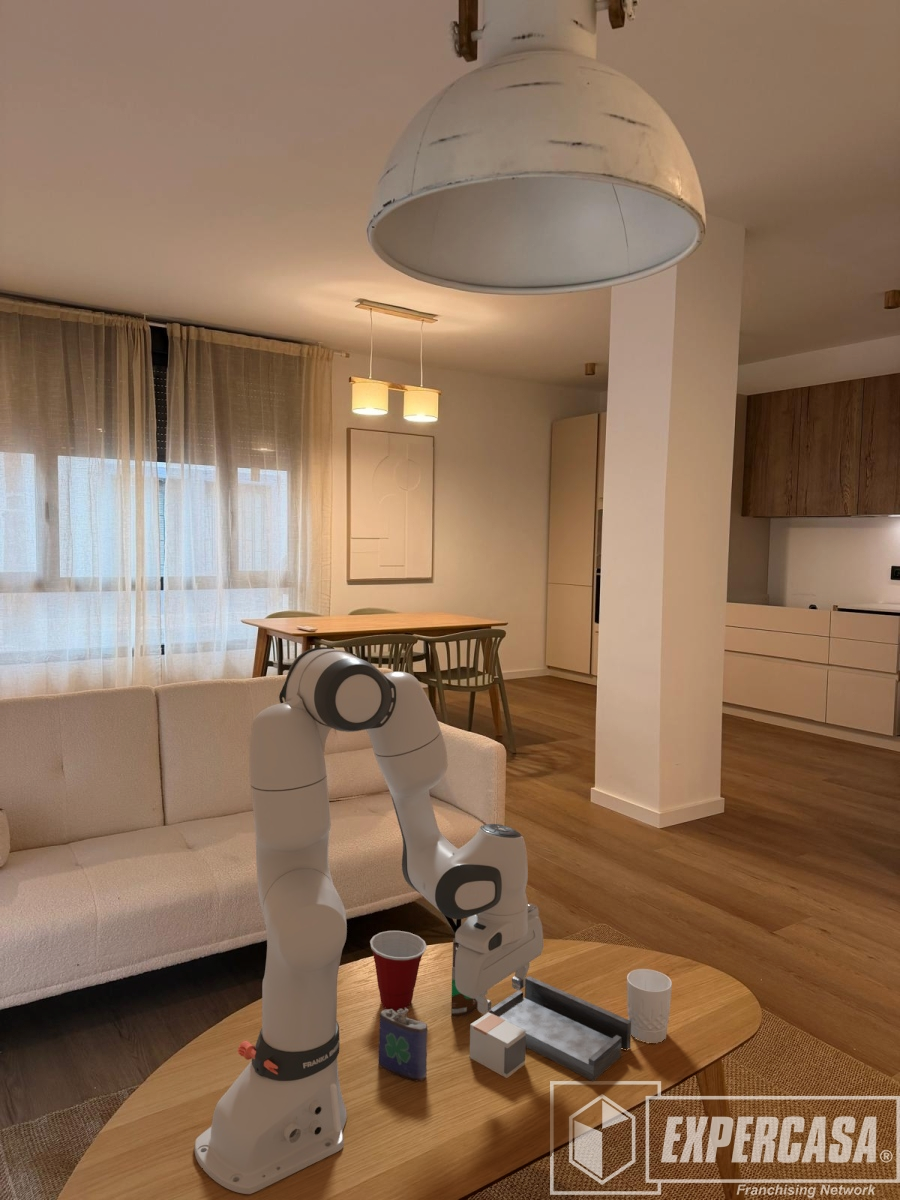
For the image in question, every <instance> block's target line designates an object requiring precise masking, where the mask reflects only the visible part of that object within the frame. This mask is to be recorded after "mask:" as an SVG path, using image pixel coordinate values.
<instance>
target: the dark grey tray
mask: <svg viewBox="0 0 900 1200" xmlns="http://www.w3.org/2000/svg"><path fill="white" fill-rule="evenodd" d="M489 1013H491V1014H494V1015H496V1016H498V1017H500V1018H502V1019H504V1020H505V1021H507V1022H509V1023H511V1024H513V1025H515V1026H517V1027H519V1028H521V1029H523V1030H525V1031H526V1034H525V1035H526V1049H528V1050H531V1051H533V1052H534V1053H537V1054H539V1055H541V1056H543V1057H544V1058H545V1059H549V1060H550V1061H553V1062H554V1063H557V1064H559V1065H560V1066H562V1067H564V1068H566V1069H568V1070H570V1071H571V1072H574V1073H576V1074H578V1075H579V1076H581V1077H584V1078H585V1079H588V1080H589V1081H592V1082H595V1081H596V1080H597V1079H598V1078H599V1077H600V1076H601V1075H603V1072H604V1071H605V1070H606V1069H607V1068H608V1067H609V1066H610V1067H612V1066H613V1065H614V1064H613V1063H614V1062H615V1061H616V1060H617V1061H618V1060H619V1059H621V1057H622V1049H621V1048H623V1049H626V1050H627V1049H628V1048H630V1049H631V1037H632V1036H631V1021H630V1020H628V1018H626V1017H624V1016H621V1015H618V1014H616V1013H614V1012H612V1011H609V1010H607V1009H605V1008H603V1007H601V1006H598V1005H596V1004H593V1003H591V1002H589V1001H587V1000H584V999H582V998H580V997H577V996H575V995H572V994H570V993H569V992H567V991H564V990H562V989H559V988H557V987H554V986H553V985H550V984H548V983H545V982H543V981H541V980H539V979H537V978H534V977H532V976H526V978H525V987H524V992H523V991H522V990H521V989H520V990H516V991H515V992H513V993H512V994H510V995H509V996H507V997H506V998H504V999H503V1000H501V1001H500V1002H498V1003H497V1004H495V1005H494V1006H493V1007H492V1006H491V1010H490V1011H489ZM617 1061H616V1062H617ZM616 1062H615V1063H616ZM610 1067H609V1068H610ZM609 1068H608V1069H609ZM608 1069H607V1070H608ZM607 1070H606V1071H607ZM606 1071H605V1072H606Z"/></svg>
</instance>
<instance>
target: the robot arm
mask: <svg viewBox="0 0 900 1200" xmlns="http://www.w3.org/2000/svg"><path fill="white" fill-rule="evenodd" d="M278 699H279V703H276V704H273V705H270V706H268V707H266V708H264V709H263V710H260V712H259V713H258V714H256V716H255V717H254V719H252V720H253V721H252V723H251V727H250V734H249V735H250V737H249V749H248V750H249V751H248V753H249V755H248V756H249V757H248V758H249V759H248V764H249V765H248V766H249V768H248V769H249V770H248V771H249V783H250V792H251V793H250V794H251V803H252V812H253V813H252V814H253V823H254V824H253V825H254V833H255V834H254V835H255V857H256V858H255V859H256V860H255V862H256V863H255V864H256V879H257V891H258V892H257V893H258V900H259V904H260V908H261V911H262V915H263V920H264V924H265V929H266V931H265V932H266V938H267V939H266V945H267V946H266V959H265V967H264V968H265V970H264V976H263V979H262V983H261V984H262V988H261V989H262V992H261V993H262V996H261V999H262V1002H261V1003H262V1007H261V1008H262V1009H261V1010H262V1012H261V1014H262V1015H261V1017H262V1020H261V1024H262V1026H261V1029H260V1030H259V1033H258V1037H257V1040H256V1042H255V1043H256V1044H255V1045H253V1044H251V1042H250V1041H249V1040H244V1041H242V1042H241V1043H240V1044H239V1046H238V1049H237V1053H238V1055H240V1056H241V1057H243V1058H244V1060H247V1061H249V1060H251V1061H250V1062H249V1063H248V1065H246V1067H245V1068H244V1069H243V1070H242V1072H241V1073H240V1074H239V1076H238V1077H237V1078H236V1079H235V1081H234V1082H233V1083H232V1085H230V1087H229V1088H228V1089H227V1091H226V1092H225V1093H224V1094H223V1095H222V1096H221V1098H220V1099H219V1100H218V1102H217V1103H216V1106H215V1109H214V1111H213V1115H212V1122H211V1126H209V1127H208V1128H207V1129H206V1130H205V1131H203V1132H202V1133H201V1134H200V1135H198V1136H197V1137H196V1139H195V1141H194V1156H195V1159H196V1161H197V1163H198V1165H199V1166H200V1167H201V1169H202V1168H203V1169H202V1171H204V1172H205V1173H206V1174H207V1175H208V1177H209V1178H211V1179H212V1180H214V1182H216V1183H217V1184H219V1186H222V1187H223V1188H226V1189H227V1190H229V1191H232V1192H236V1193H238V1194H245V1195H252V1194H254V1193H256V1192H258V1191H261V1190H263V1189H265V1188H267V1187H268V1186H271V1185H273V1184H275V1183H277V1182H279V1181H281V1180H283V1179H285V1178H287V1177H289V1176H292V1175H293V1174H295V1173H297V1172H299V1171H302V1170H304V1169H305V1168H308V1167H309V1166H311V1165H313V1164H315V1163H318V1162H319V1161H322V1160H324V1159H325V1158H327V1157H329V1156H332V1155H334V1154H336V1153H337V1152H339V1151H341V1150H342V1149H343V1147H344V1144H345V1143H344V1133H343V1130H344V1127H345V1125H346V1122H347V1115H348V1114H347V1109H346V1106H345V1103H344V1100H343V1093H342V1089H341V1085H340V1084H341V1083H340V1078H339V1067H338V1056H339V1054H340V1044H341V1043H340V1025H339V1023H338V1021H337V1020H338V1019H337V1017H338V1016H337V1015H338V1012H337V1011H338V1005H337V1004H338V977H339V969H340V963H341V957H342V953H343V949H344V946H345V943H346V941H347V935H348V934H347V933H348V930H347V929H348V927H347V926H348V924H347V914H346V908H345V906H344V903H343V901H342V899H341V897H340V895H339V893H338V891H337V888H336V887H335V884H334V881H333V878H332V875H331V872H330V864H329V863H330V862H329V861H330V860H329V850H330V849H329V847H330V845H329V844H330V843H329V841H330V831H331V826H332V822H331V821H332V820H331V811H330V799H329V798H330V797H329V786H328V777H327V776H328V775H327V766H326V760H325V759H326V758H325V751H326V750H325V748H326V742H327V739H328V735H329V733H330V731H331V730H332V729H333V730H335V731H340V732H346V733H349V732H351V733H353V732H360V731H366V733H367V734H368V737H369V741H370V744H371V747H372V751H373V753H374V756H375V760H376V762H377V764H378V767H379V770H380V771H381V772H380V773H381V774H382V776H383V779H384V780H385V783H386V785H387V788H388V791H389V793H390V796H391V801H392V804H393V808H394V812H395V815H396V820H397V821H398V825H399V829H400V834H401V838H402V857H401V871H402V874H403V877H404V880H405V882H406V883H407V885H409V887H410V888H412V889H413V890H415V891H416V892H417V893H419V894H420V895H422V897H424V899H426V900H427V902H429V903H430V904H431V905H432V906H434V907H435V908H436V910H438V911H439V912H440V913H441V914H442V915H443V916H445V917H447V918H449V919H452V920H464V919H466V920H465V921H464V922H463V923H462V924H461V925H460V926H459V927H458V928H457V929H456V931H455V935H454V939H455V940H456V942H457V943H459V944H460V945H459V947H458V949H457V952H456V957H455V985H456V988H457V990H458V991H459V992H460V993H461V994H463V995H465V996H467V997H470V998H472V999H474V998H475V999H476V1000H477V1001H478V1004H477V1011H478V1012H479V1013H481V1014H483V1015H485V1014H487V1013H488V1012H489V1011H490V1010H491V1008H492V1000H489V999H487V995H488V991H489V990H490V989H491V988H493V987H494V986H496V985H497V984H499V983H501V982H502V981H503V980H505V979H506V978H508V977H510V976H511V975H512V974H514V976H513V977H511V982H512V983H511V987H512V988H513V989H514V990H516V991H518V990H520V991H521V990H522V989H523V988H525V978H527V975H528V972H529V969H530V963H531V962H532V961H533V960H535V959H537V958H538V957H539V956H541V955H542V953H543V950H544V931H543V924H542V921H541V918H540V916H539V915H540V910H539V907H537V905H536V904H533V903H532V902H531V903H529V902H528V897H527V894H526V887H527V884H528V879H529V878H528V876H529V875H528V874H529V872H528V870H529V869H528V867H529V866H528V853H527V846H526V842H525V839H524V837H523V835H522V834H521V833H520V832H519V831H517V830H515V829H514V828H512V827H510V826H507V825H503V824H499V823H488V824H487V823H486V824H483V825H481V826H480V827H479V829H478V830H477V833H476V834H475V835H474V836H473V837H472V838H471V839H469V841H468V842H466V843H465V844H463V845H462V846H461V847H459V848H458V847H457V846H455V845H454V844H453V843H452V842H451V841H450V840H449V839H448V838H447V837H446V836H445V835H444V834H443V833H442V832H441V830H440V828H439V826H438V823H437V818H436V814H435V811H434V807H433V804H432V798H431V795H430V790H431V789H432V788H435V787H436V786H437V785H438V784H439V783H440V781H441V780H442V779H443V777H444V776H445V774H446V772H447V770H448V766H449V764H448V755H447V747H446V743H445V740H444V737H443V736H444V735H443V733H442V729H441V727H440V724H439V721H438V718H437V716H436V713H435V711H434V708H433V707H432V706H433V705H432V703H431V702H430V700H429V698H428V696H427V694H426V691H425V689H424V687H423V686H422V684H421V682H420V681H419V680H418V678H417V677H415V676H414V674H413V675H412V674H411V673H408V672H405V671H390V672H385V673H382V672H381V671H380V670H379V669H378V668H377V667H376V666H375V665H373V664H372V663H370V662H369V661H367V660H364V659H362V658H359V657H357V656H356V655H354V654H353V653H350V652H348V651H345V650H341V649H335V648H331V647H326V646H322V647H321V646H319V647H314V648H310V649H307V650H305V651H303V652H302V653H300V654H299V655H298V656H297V657H296V658H295V659H294V661H292V662H291V665H290V667H289V669H288V671H287V675H286V678H285V681H284V683H283V686H282V689H281V690H280V692H279V695H278Z"/></svg>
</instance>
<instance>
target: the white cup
mask: <svg viewBox="0 0 900 1200" xmlns="http://www.w3.org/2000/svg"><path fill="white" fill-rule="evenodd" d="M626 986H627V987H626V988H627V989H626V991H627V992H626V993H627V995H626V996H627V997H626V998H627V1000H626V1001H627V1002H626V1004H627V1016H628V1018H627V1019H628V1020H630V1021H631V1035H632V1036H634V1037H635V1038H637V1039H639V1040H642V1041H645V1042H649V1043H650V1042H651V1043H656V1044H658V1043H657V1042H661V1043H662V1041H663V1040H664V1039H665V1040H666V1039H667V1034H668V1024H669V1022H670V1021H669V1019H670V1010H671V1000H672V988H673V982H672V980H671V978H670V977H669V976H668V975H666V974H664V973H663V972H660V971H657V970H655V969H650V968H637V969H633V970H631V971H630V972H629V973H628V974H627V976H626ZM632 1036H631V1037H632ZM635 1038H634V1039H635ZM665 1040H664V1041H665ZM664 1041H663V1042H664ZM649 1043H648V1044H649Z"/></svg>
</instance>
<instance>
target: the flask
mask: <svg viewBox="0 0 900 1200" xmlns="http://www.w3.org/2000/svg"><path fill="white" fill-rule="evenodd" d="M408 1012H409V1009H408V1008H405V1009H399V1010H397V1011H394V1010H393V1009H386V1008H384V1009H382V1010H381V1011H380V1013H379V1029H378V1030H379V1037H378V1038H379V1039H378V1067H379V1068H381V1069H383V1070H384V1071H386V1072H387V1073H389V1074H392V1075H395V1076H398V1077H401V1078H403V1079H406V1080H408V1081H409V1080H410V1081H413V1082H420V1083H421V1082H424V1081H425V1080H426V1078H427V1073H428V1070H427V1063H428V1062H427V1056H428V1055H427V1054H428V1053H427V1049H428V1045H427V1044H428V1043H427V1042H428V1040H427V1039H428V1031H429V1030H428V1025H427V1023H426V1022H424V1021H420V1020H416V1019H413V1018H409V1017H407V1016H408V1015H407V1013H408Z"/></svg>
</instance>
